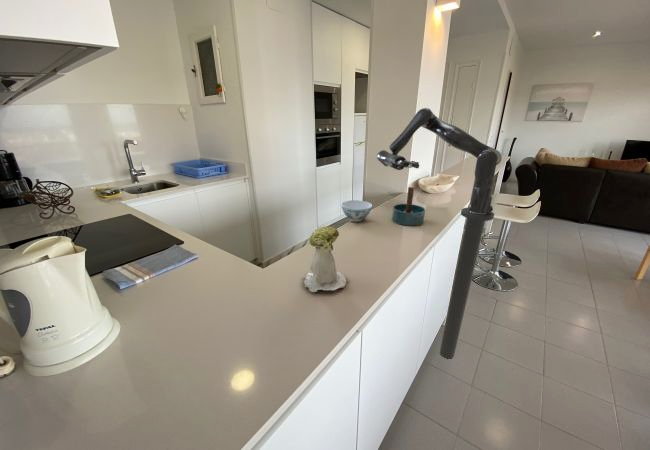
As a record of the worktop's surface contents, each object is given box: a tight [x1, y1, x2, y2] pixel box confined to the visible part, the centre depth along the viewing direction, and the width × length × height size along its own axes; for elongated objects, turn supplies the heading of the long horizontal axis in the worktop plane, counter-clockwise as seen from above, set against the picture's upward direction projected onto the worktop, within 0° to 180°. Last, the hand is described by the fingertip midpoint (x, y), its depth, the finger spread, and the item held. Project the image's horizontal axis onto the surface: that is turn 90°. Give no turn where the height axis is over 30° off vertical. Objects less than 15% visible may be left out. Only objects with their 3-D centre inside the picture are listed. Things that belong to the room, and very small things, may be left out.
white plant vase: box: [303, 226, 347, 293], centre depth 82 cm, size 12×13×18 cm
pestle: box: [404, 186, 415, 213], centre depth 134 cm, size 4×4×16 cm
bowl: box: [391, 203, 426, 227], centre depth 136 cm, size 15×15×6 cm
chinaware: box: [340, 199, 373, 223], centre depth 137 cm, size 15×15×8 cm
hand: (410, 166), depth 142 cm, fingers open, 8 cm apart
